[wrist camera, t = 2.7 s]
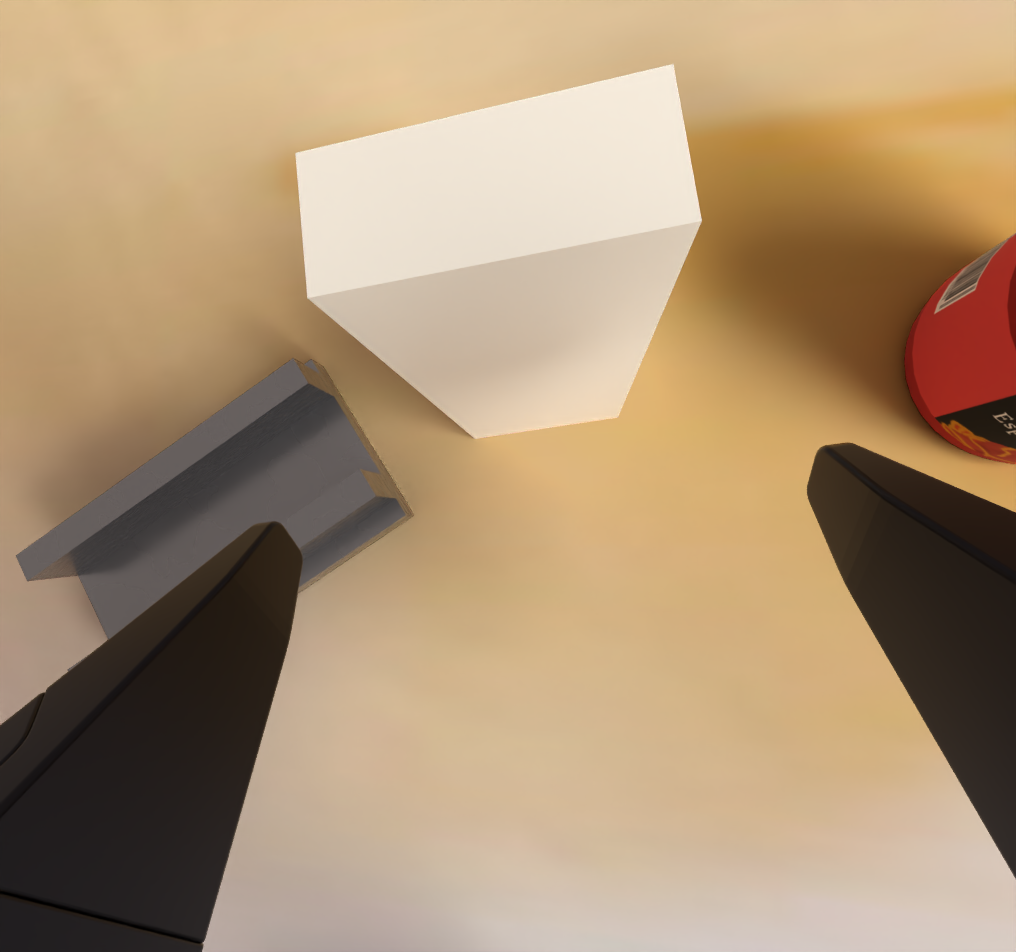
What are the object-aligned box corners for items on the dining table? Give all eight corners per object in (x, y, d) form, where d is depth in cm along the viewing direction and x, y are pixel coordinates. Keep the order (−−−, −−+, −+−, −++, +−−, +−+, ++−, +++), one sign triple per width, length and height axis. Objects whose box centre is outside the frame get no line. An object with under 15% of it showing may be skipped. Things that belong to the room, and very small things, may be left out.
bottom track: (414, 515, 20) (387, 514, 17) (156, 689, 21) (88, 716, 18) (323, 366, 22) (283, 341, 19) (82, 536, 22) (8, 538, 19)
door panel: (617, 417, 20) (701, 220, 7) (475, 439, 20) (307, 298, 8) (607, 350, 20) (669, 42, 7) (467, 374, 21) (294, 132, 8)
